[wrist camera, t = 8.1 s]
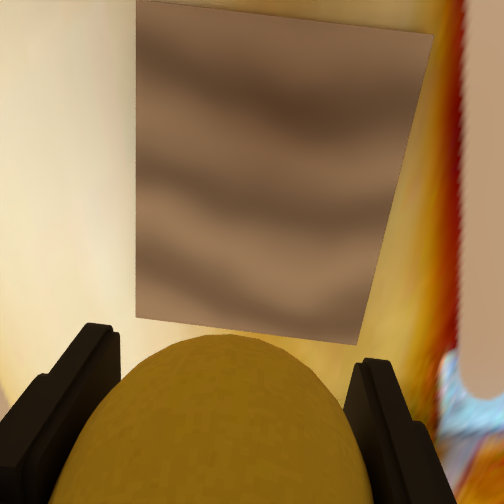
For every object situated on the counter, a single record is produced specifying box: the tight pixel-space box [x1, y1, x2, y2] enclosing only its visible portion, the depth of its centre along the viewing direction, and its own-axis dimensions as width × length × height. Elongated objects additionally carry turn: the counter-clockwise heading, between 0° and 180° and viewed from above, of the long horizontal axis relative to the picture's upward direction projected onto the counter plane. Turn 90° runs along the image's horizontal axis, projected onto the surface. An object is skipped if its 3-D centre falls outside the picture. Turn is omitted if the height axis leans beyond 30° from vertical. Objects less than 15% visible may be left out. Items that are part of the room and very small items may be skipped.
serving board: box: [136, 0, 434, 345], centre depth 27 cm, size 20×16×2 cm
